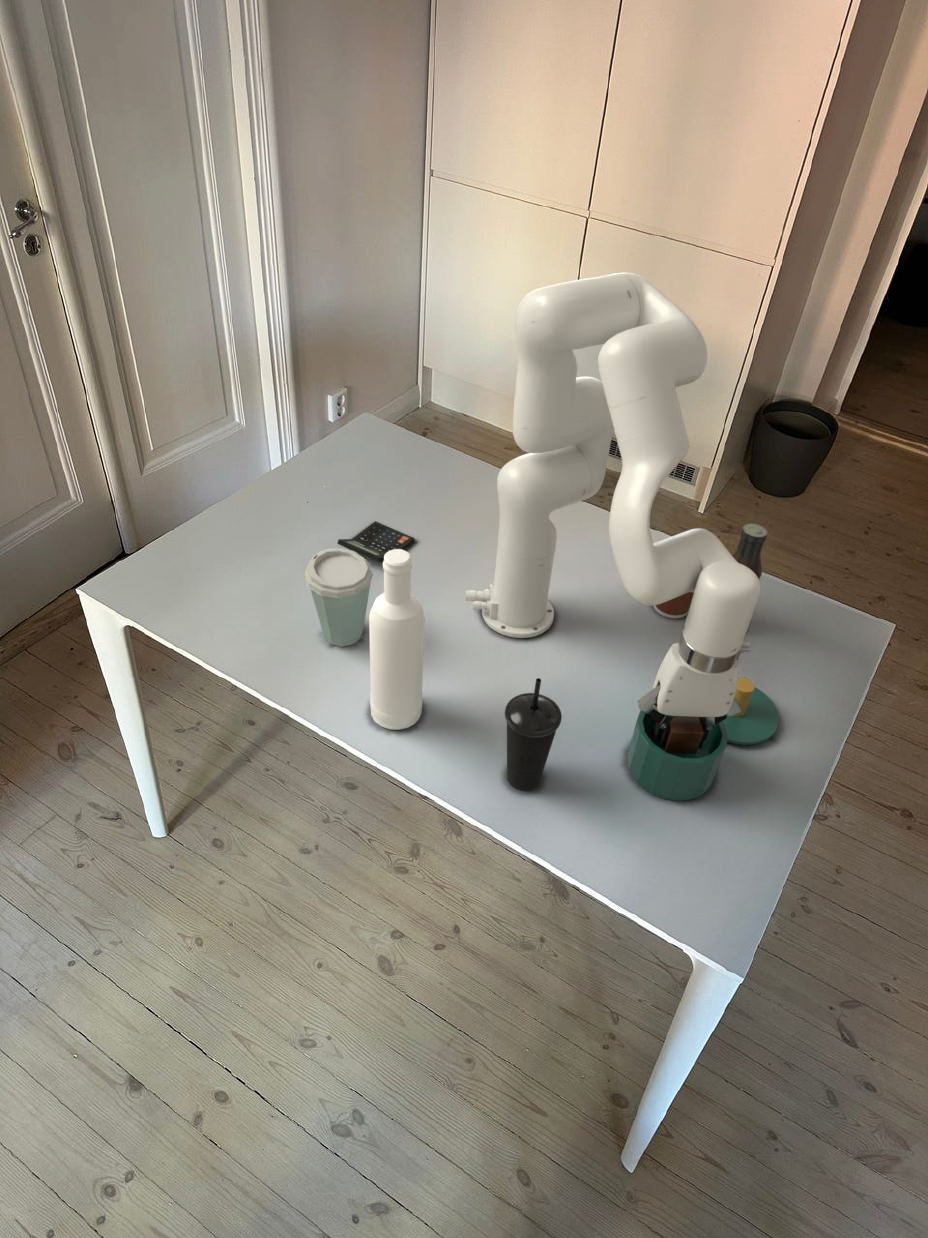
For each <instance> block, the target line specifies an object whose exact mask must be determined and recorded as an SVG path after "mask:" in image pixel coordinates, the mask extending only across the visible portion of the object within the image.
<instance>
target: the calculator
mask: <svg viewBox="0 0 928 1238" xmlns="http://www.w3.org/2000/svg"><path fill="white" fill-rule="evenodd" d="M413 543H415V537H413V536H410V535H408V534H405V533H404V532H401V531H399V530H396V529H394V528H391V526H388V525H386V524H382V523H381V522H378V521H373V522H372V523H371V524H370V525H368V526H367V527H365V528H364V529H363V530H362V531H360V532H359V533H357V534H356V535H354V536H353V537H352V538H348V539H347V538H342V539H341V538H338V540H337V545H340V546H341V547H343V548H345V549H347V550H352V551H354V552H356V553H357V554H359V555H360V556H362V557H366V558H368V559H370V560H372V561H374V562H376V563H383V562H384V556H385V554H386V553H387V552H388V551H391V550H394V549H401V550H405V551H406V550H407V548H409V547H410V546H411V545H412V544H413Z"/></svg>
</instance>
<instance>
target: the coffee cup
mask: <svg viewBox="0 0 928 1238" xmlns="http://www.w3.org/2000/svg"><path fill="white" fill-rule="evenodd" d="M693 594H694V592H688V593H686V594H683V595H681V596H679V597H676V598H674V599H671V600H669V601H666V602H664V603H661V604H658V605H653V608H654V610H655V611H656V613H658V614H660V615H661V616H663V617H666V618H670V619H681V618H684V617H685V616H686V617H687V615H688V612H689V608H690V605H691V601H692V598H693Z"/></svg>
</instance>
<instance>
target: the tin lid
mask: <svg viewBox="0 0 928 1238" xmlns="http://www.w3.org/2000/svg"><path fill="white" fill-rule="evenodd" d="M735 698H736V699H737V701H738V702H739V705H740V708H741V712H740V713H737V714H735V715H732V716H730V717H729V716H728V717H727V718H726V719H725V720H723V722H724V724H725V727H726V731H727V734H728V739H727V743H731V744H735V745H744V746H745V745H746V746H747V745H750V746H751V745H757V744H761V743H763V742H766V741H767V740H769V739H771V738H772V737H773V736H774V734H775V733H776V732H777V730H778V727H779V723H780V714H779V711H778V708H777V707H776V705H775V704H774V702H773V701H772V700H771V698H770V697H769V696H768V695H766V694H765V693H764V692H763V691H761V690H760V689H758V688H757V687H756V685H755V683H754V682H753V680H750V679H749V678H746V677H738V682H737V687H736V692H735Z"/></svg>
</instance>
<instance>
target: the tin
mask: <svg viewBox="0 0 928 1238" xmlns="http://www.w3.org/2000/svg"><path fill="white" fill-rule="evenodd" d="M655 704H656V705H657V702H656V703H655ZM657 706H658V705H657ZM639 710H640V709H639ZM655 726H656V721H655V720H654V719H653V718H651V717H650V715H649V714H647V713H645V712H643V711H642V710H640V711H639V713H638V716H637V719H636V723H635V725H634V730H633V734H632V737H631V741H630V744H629V748H628V752H627V755H626V756H627V759H626V760H627V761H626V762H627V767H628V771H629V772H630V775H631V776H632V778H633V779H634V780H635V781H636V783H637V784H638V785H639V786H640V787H641V788H643V790H645V791H647V792H648V793H649V794H652V795H653V796H656V797H659V798H660V799H663V800H668V801H677V802H678V801H679V802H681V801H683V802H684V801H691V800H693V799H696V798H698V797H700V796H702V795H703V794H705V793H706V792H708V790H709V788H710V787H711V786H712V784H713V782H714V779H715V777H716V773H717V772H718V769H719V766H720V763H721V761H722V759H723V755H724V753H725V750H726V748H727V743H728V742H727V739H728V734H727V731H726V727H725V724H724V722H723V721H721V722H719V723H717V724H716V725H715V727H714V729H712V730H709V733H708V736H707V738H706V740H705V741H703V744H702V746H701V749H698V751H697V754H679V753H666V752H665V749H664V748H660V746H659V742H658V739H655V737H654V729H655Z"/></svg>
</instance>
